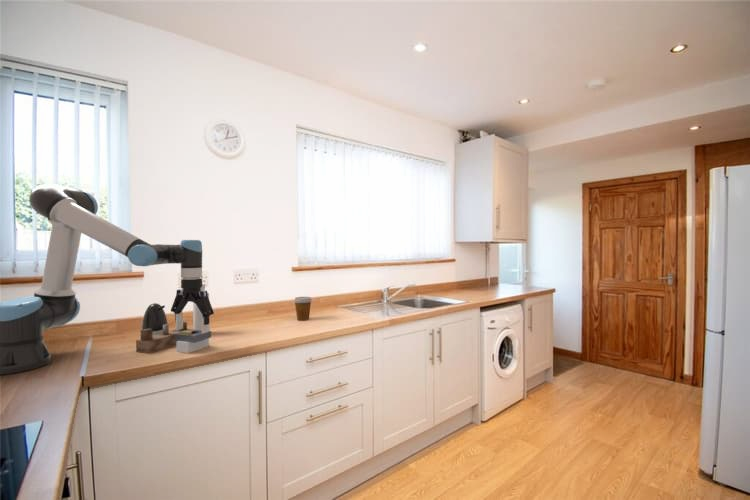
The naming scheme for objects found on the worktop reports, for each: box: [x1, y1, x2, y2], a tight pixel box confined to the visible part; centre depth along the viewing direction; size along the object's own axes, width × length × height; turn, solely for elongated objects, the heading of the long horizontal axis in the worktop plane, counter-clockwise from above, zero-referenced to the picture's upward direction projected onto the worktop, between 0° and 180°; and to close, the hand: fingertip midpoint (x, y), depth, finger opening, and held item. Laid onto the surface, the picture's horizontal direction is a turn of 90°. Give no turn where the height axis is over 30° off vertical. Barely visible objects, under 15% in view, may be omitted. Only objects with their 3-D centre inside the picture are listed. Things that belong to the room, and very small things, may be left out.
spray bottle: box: [192, 283, 211, 331], centre depth 158 cm, size 7×7×25 cm
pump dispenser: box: [141, 302, 169, 335], centre depth 155 cm, size 10×10×15 cm
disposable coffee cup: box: [293, 296, 312, 322], centre depth 187 cm, size 10×10×12 cm
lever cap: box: [174, 328, 212, 343], centre depth 136 cm, size 8×11×4 cm
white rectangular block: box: [175, 338, 210, 354], centre depth 136 cm, size 10×6×4 cm, turn 160°
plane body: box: [135, 321, 191, 354], centre depth 141 cm, size 20×7×8 cm, turn 160°
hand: (192, 331), depth 136 cm, fingers open, 13 cm apart
